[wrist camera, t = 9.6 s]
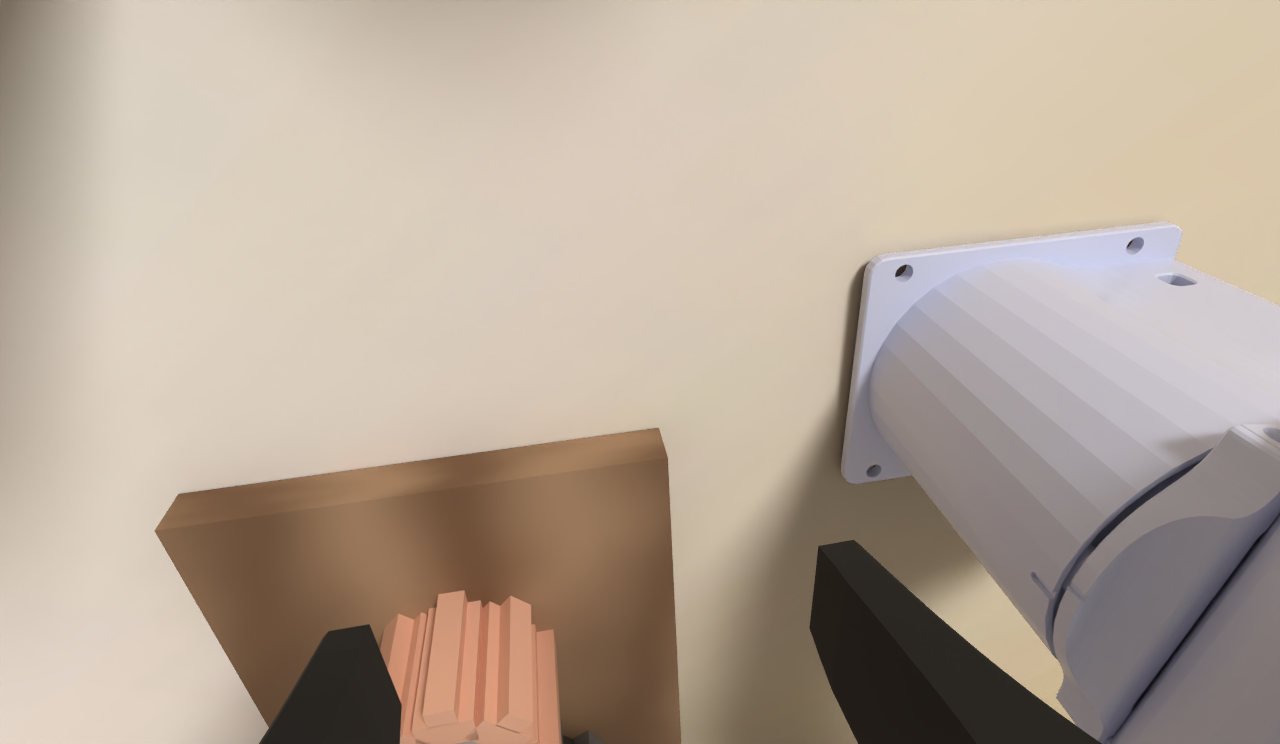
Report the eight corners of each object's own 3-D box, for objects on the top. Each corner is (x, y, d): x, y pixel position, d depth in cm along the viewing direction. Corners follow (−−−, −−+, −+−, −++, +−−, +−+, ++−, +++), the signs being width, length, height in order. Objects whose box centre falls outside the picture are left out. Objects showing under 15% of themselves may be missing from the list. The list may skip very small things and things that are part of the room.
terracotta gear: (543, 577, 21) (548, 693, 18) (564, 689, 24) (571, 806, 21) (356, 607, 21) (324, 732, 17) (401, 718, 24) (381, 844, 20)
